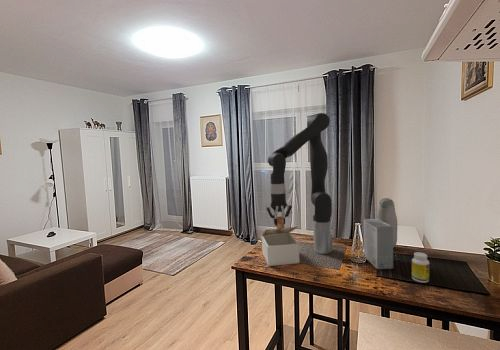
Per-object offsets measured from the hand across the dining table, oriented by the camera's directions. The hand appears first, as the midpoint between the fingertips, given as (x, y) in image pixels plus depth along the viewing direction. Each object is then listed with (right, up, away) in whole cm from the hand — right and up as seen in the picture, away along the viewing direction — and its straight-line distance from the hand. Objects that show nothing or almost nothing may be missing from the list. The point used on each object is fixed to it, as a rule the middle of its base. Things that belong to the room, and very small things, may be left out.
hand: (279, 225), depth 135 cm
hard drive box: (+47, -17, -7) cm, 51 cm away
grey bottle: (+60, -15, +9) cm, 63 cm away
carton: (+1, -18, +5) cm, 19 cm away
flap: (0, -4, +4) cm, 6 cm away
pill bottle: (+56, -18, -25) cm, 64 cm away
